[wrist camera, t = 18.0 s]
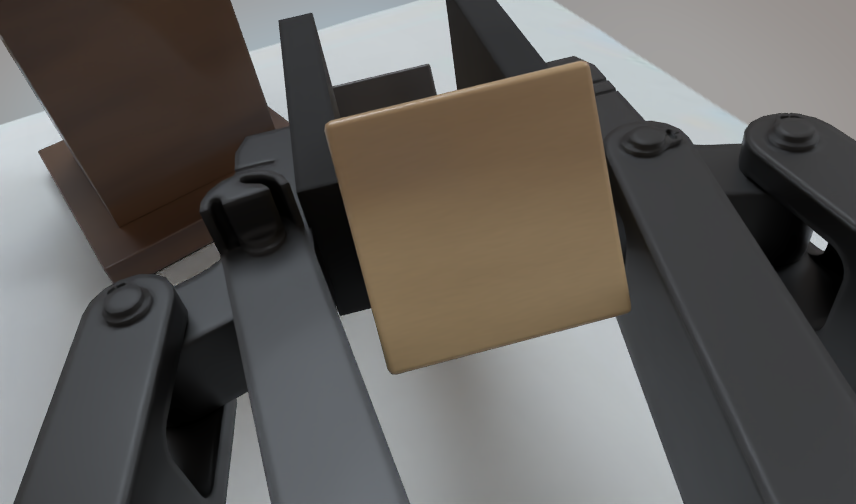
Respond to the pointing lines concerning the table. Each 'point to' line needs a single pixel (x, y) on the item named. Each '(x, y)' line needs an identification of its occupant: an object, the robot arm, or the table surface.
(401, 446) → the table surface
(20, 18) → the wooden pedestal stand
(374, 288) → the long wooden bar
